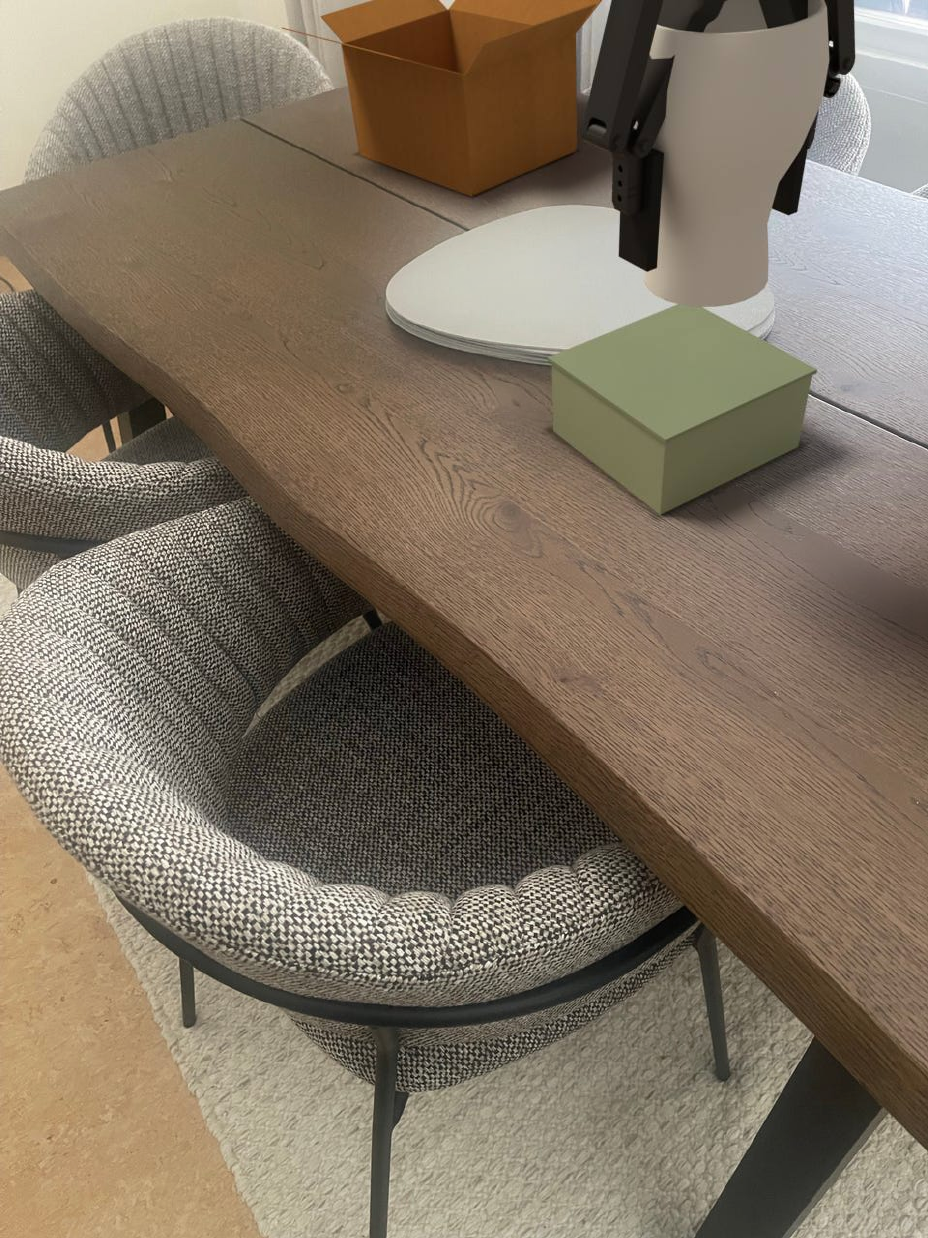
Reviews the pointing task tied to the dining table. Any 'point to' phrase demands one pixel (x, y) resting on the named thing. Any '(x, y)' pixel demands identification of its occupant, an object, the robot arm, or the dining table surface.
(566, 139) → the box
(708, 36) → the cup
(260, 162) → the dining table surface
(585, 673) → the dining table surface
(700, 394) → the green flat-topped block
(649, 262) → the robot arm
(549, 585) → the dining table surface
